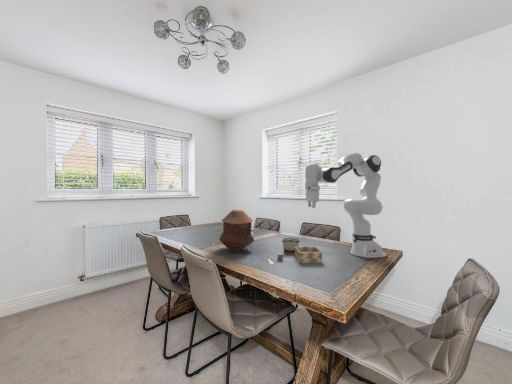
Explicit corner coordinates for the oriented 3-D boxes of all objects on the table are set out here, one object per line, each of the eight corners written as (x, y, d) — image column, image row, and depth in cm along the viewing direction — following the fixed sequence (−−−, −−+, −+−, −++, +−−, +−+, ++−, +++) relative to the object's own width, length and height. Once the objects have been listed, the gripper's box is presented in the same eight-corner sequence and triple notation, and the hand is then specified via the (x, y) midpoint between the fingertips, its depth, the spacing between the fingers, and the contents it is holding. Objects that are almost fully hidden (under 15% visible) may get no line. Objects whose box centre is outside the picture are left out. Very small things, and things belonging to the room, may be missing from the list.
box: (315, 256, 157) (315, 246, 157) (322, 263, 143) (322, 252, 143) (294, 257, 156) (295, 246, 156) (299, 263, 142) (299, 252, 142)
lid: (289, 257, 157) (289, 250, 157) (294, 265, 142) (294, 257, 142) (267, 258, 156) (267, 251, 156) (269, 265, 141) (270, 257, 141)
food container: (298, 251, 170) (298, 237, 170) (299, 253, 164) (299, 239, 164) (281, 251, 171) (281, 237, 171) (281, 253, 165) (282, 239, 165)
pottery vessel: (222, 245, 187) (222, 208, 186) (254, 246, 186) (254, 208, 185) (216, 255, 161) (215, 211, 160) (252, 255, 160) (252, 212, 159)
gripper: (303, 187, 169) (303, 206, 169) (311, 187, 149) (311, 208, 149) (312, 187, 169) (312, 206, 170) (320, 187, 149) (320, 208, 149)
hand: (311, 207), depth 159 cm, fingers open, 8 cm apart
